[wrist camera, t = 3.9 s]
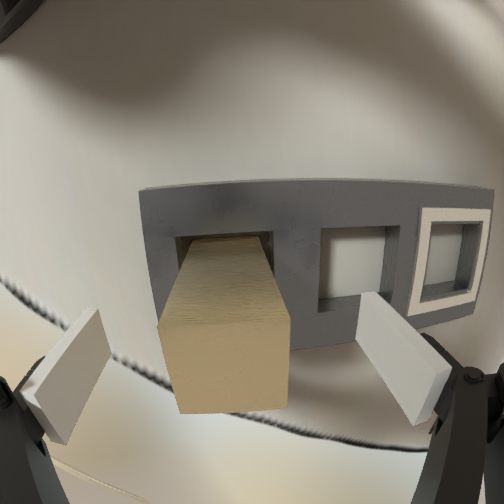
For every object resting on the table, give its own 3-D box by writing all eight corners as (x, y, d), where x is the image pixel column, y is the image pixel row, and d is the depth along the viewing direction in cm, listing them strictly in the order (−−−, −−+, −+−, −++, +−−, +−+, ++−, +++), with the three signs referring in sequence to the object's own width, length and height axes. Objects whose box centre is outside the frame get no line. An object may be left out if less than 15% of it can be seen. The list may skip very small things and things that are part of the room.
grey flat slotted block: (170, 342, 22) (165, 359, 20) (147, 187, 18) (137, 191, 16) (461, 305, 24) (474, 315, 21) (479, 186, 20) (496, 190, 18)
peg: (199, 298, 21) (180, 413, 10) (192, 240, 20) (156, 326, 9) (259, 294, 21) (286, 407, 11) (257, 235, 20) (290, 319, 9)
